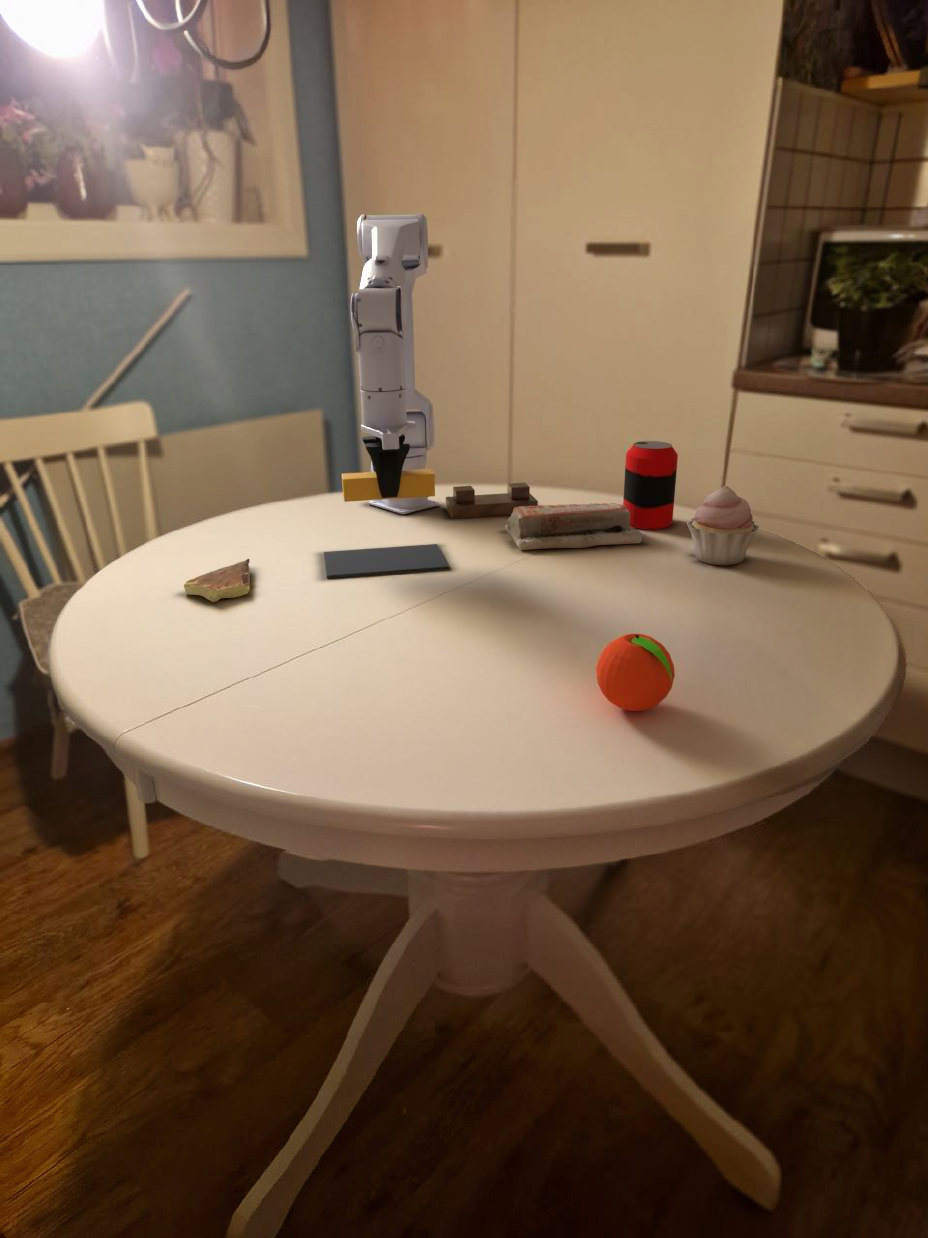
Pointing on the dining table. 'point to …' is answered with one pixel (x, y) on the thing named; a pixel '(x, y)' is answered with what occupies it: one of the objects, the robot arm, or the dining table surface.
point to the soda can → (650, 484)
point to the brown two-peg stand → (488, 501)
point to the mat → (384, 561)
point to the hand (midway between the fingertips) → (387, 493)
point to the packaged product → (571, 526)
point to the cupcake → (722, 528)
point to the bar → (368, 489)
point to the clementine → (635, 672)
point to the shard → (221, 582)
